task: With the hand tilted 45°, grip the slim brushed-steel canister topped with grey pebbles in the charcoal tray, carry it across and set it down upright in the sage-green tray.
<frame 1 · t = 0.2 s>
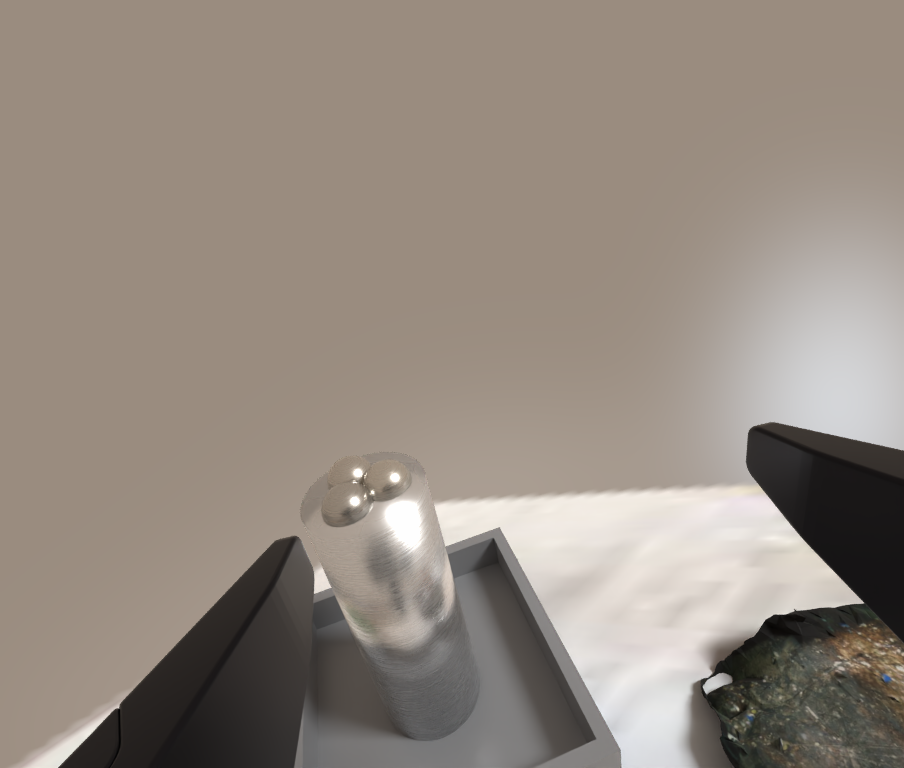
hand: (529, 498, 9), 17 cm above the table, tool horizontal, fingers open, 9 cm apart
pebble canister: (432, 685, 22), point 1 cm above the table, touching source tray
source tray: (435, 693, 22), on the table
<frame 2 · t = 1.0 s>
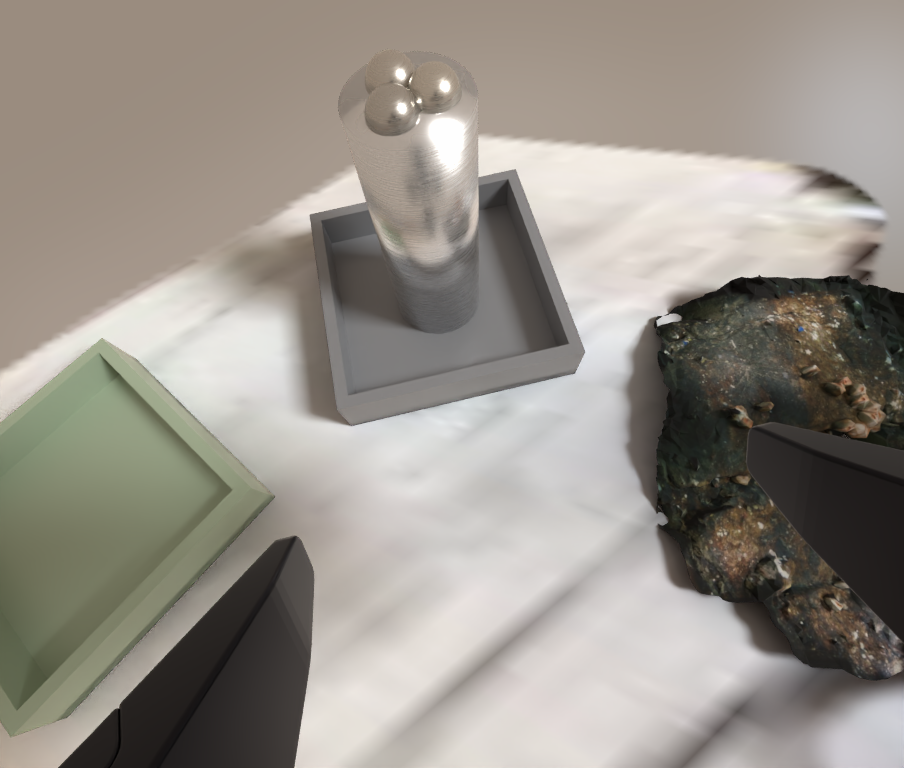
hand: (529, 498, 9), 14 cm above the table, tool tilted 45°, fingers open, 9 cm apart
pebble canister: (438, 298, 26), point 1 cm above the table, touching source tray
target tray: (106, 513, 23), on the table
decorative rock: (798, 469, 23), on the table
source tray: (439, 303, 27), on the table
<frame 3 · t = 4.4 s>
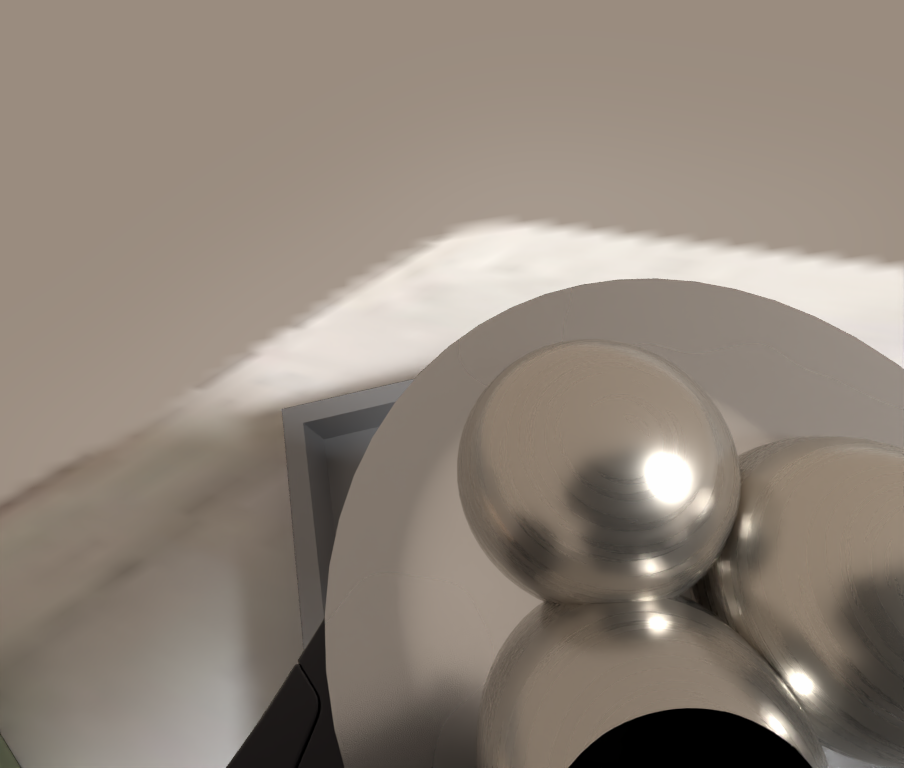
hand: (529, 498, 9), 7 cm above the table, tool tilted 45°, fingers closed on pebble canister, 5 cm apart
pebble canister: (522, 569, 14), point 1 cm above the table, touching gripper, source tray
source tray: (520, 569, 15), on the table
when the fingers open (8 cm above the table, at t = 9.4 s): pebble canister drops 1 cm, resting on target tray.
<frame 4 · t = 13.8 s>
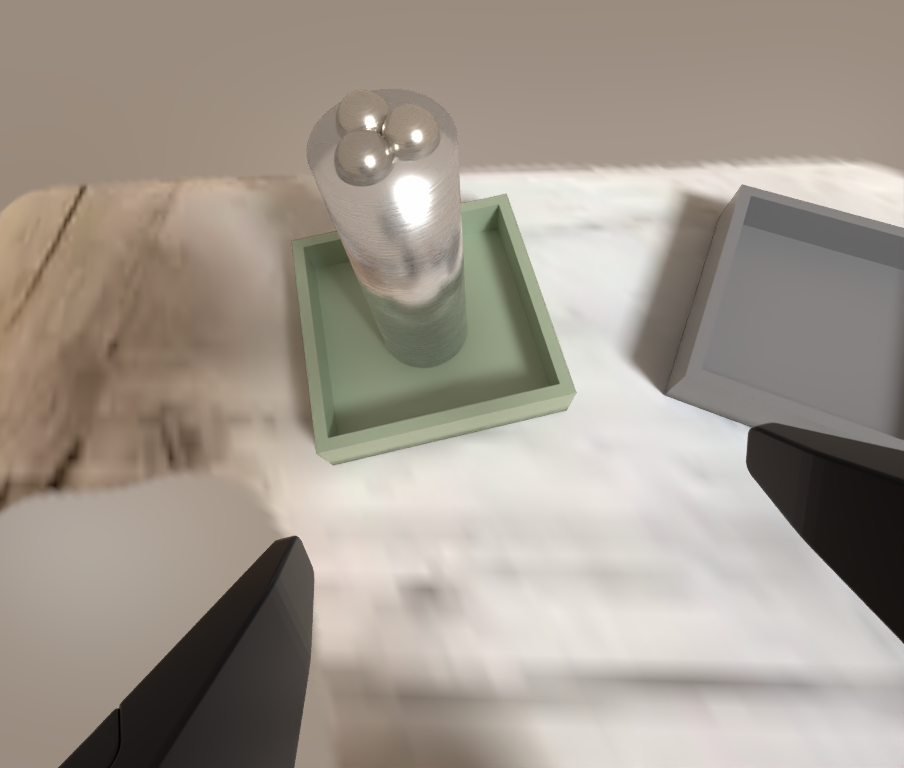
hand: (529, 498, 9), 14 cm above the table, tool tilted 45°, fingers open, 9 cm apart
pebble canister: (425, 329, 25), point 1 cm above the table, touching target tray
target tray: (426, 334, 26), on the table
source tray: (810, 337, 24), on the table
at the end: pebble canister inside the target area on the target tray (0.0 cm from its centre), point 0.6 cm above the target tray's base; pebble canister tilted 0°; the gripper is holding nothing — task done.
